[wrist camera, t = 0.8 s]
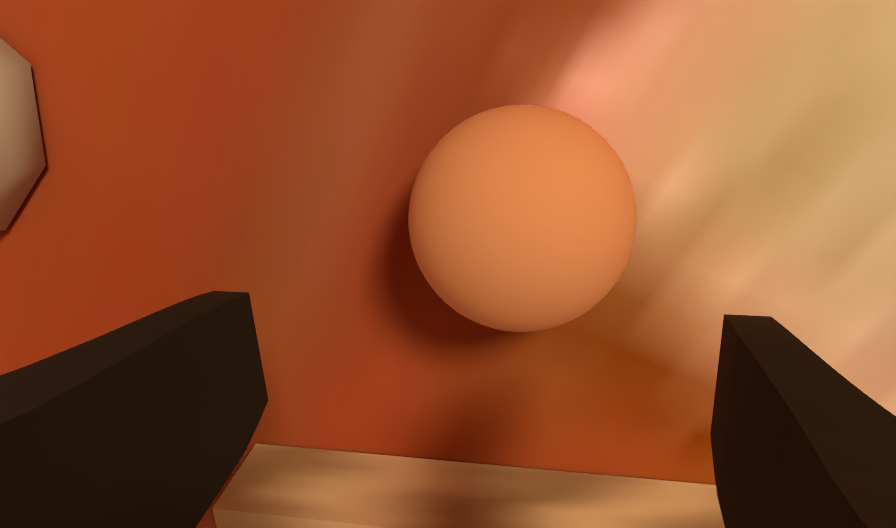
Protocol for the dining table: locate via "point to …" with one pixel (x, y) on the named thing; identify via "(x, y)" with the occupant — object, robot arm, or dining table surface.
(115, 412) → the robot arm
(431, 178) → the ball
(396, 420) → the dining table surface
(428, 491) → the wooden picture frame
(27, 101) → the flask
